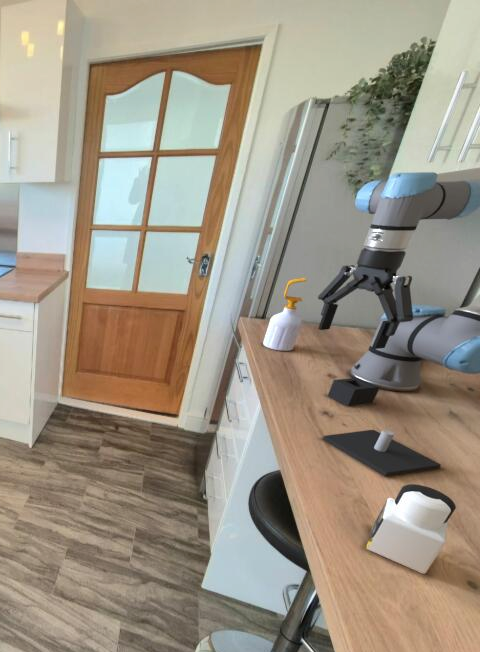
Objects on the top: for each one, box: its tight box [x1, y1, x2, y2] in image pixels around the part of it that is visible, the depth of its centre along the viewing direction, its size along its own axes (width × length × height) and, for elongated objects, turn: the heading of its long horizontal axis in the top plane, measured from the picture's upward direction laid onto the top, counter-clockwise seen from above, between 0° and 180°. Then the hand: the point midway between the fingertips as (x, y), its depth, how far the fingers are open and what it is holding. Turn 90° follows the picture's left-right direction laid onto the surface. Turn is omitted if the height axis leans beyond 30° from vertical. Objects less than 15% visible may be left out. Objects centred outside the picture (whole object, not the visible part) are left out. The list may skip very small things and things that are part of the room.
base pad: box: [322, 429, 442, 477], centre depth 94 cm, size 14×14×6 cm
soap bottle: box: [262, 277, 307, 352], centre depth 148 cm, size 9×9×25 cm
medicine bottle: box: [366, 483, 457, 575], centre depth 69 cm, size 7×7×12 cm
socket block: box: [327, 377, 381, 407], centre depth 117 cm, size 8×6×5 cm
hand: (349, 338), depth 105 cm, fingers open, 13 cm apart
